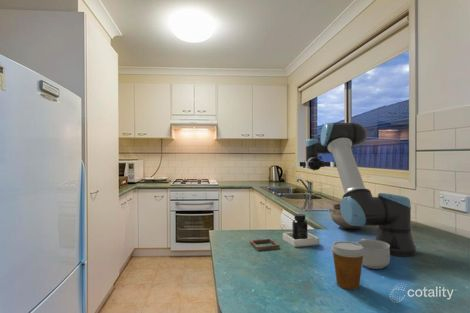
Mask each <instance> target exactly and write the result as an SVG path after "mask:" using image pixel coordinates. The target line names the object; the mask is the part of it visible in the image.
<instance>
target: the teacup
mask: <svg viewBox="0 0 470 313" xmlns="http://www.w3.org/2000/svg"><path fill="white" fill-rule="evenodd" d="M355 243H358V244H360V245H362V246H363V249H364V251H365V253H364V255H363V260H362V265H363V266H365V268H369V269H374V270H375V269H376V270H380V269H383V268H385V267H386V266H388V265H389V264H390V261H391V255H390V245H389V244H388V243H386V242H383V241H378V240H376V239H366V238H361V239H360V240H357V241H356V242H355Z"/></svg>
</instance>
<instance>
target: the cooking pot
mask: <svg viewBox="0 0 470 313" xmlns="http://www.w3.org/2000/svg"><path fill="white" fill-rule="evenodd" d="M340 208H341V207H340V203H333V204H332V208H329V209H328V210H327V211H328V213H330V217H331V219H332V221H333V222H334V223H335V224H336V225H338V226H339V227H340V228H342V229H344V230H347V229H350V230H349V231H354V230H355V229H356V230H358V229H360V228H362V227H363V226H352V225H349V224H348V223H347V222H346V221H345V220H344V219H343V217H342V214H341V211H340Z"/></svg>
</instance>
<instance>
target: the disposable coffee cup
mask: <svg viewBox="0 0 470 313" xmlns="http://www.w3.org/2000/svg"><path fill="white" fill-rule="evenodd" d="M330 249H331V252H332V256H333V264H334V271H335V277H336V278H335V279H336V284H337V286H339V287H340V288H342V289H345V290H351V291H352V290H357V289H359V288H360V282H361V275H362V265H363V264H362V260H363V255H364V253H365V251H364V249H363V246H362V245H360V244H358V243H356V242H355V241H354V242H353V241H345V240H339V241H333V243H332V245H331V247H330Z"/></svg>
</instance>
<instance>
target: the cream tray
mask: <svg viewBox="0 0 470 313" xmlns="http://www.w3.org/2000/svg"><path fill="white" fill-rule="evenodd" d="M282 240H283V241H284V242H286V243H287V244H289V245H290V246H292V247H294V248H299V247H309V246H312V247H313V246H319V245H320V238H319V237H318V236H316V235H314V234H311V233H310V232H308V239H297V240H295V239H293V234H292V231H291V232H283V233H282Z"/></svg>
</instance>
